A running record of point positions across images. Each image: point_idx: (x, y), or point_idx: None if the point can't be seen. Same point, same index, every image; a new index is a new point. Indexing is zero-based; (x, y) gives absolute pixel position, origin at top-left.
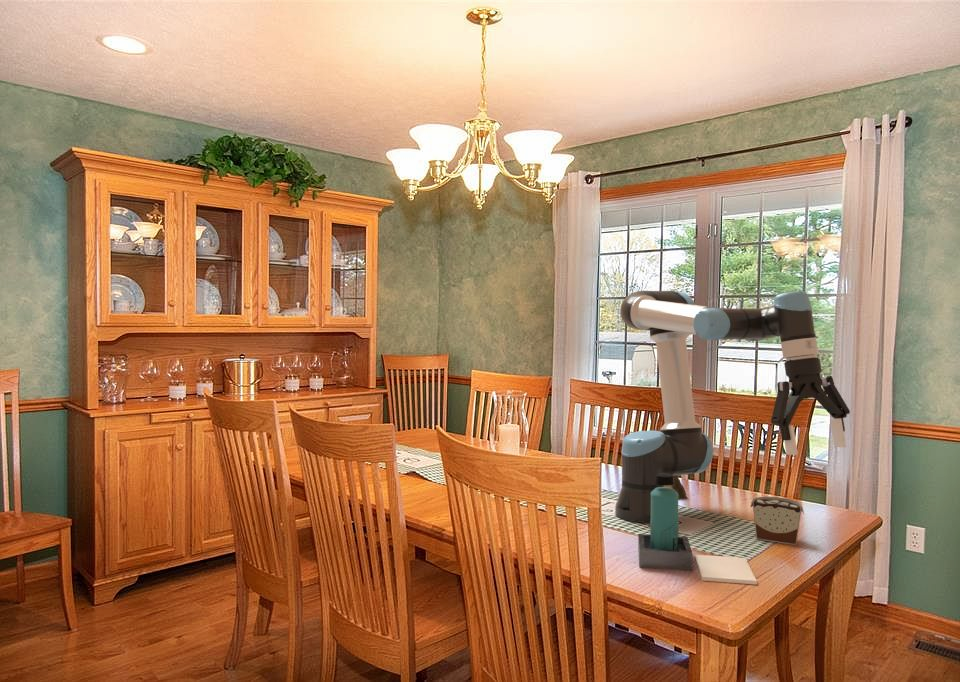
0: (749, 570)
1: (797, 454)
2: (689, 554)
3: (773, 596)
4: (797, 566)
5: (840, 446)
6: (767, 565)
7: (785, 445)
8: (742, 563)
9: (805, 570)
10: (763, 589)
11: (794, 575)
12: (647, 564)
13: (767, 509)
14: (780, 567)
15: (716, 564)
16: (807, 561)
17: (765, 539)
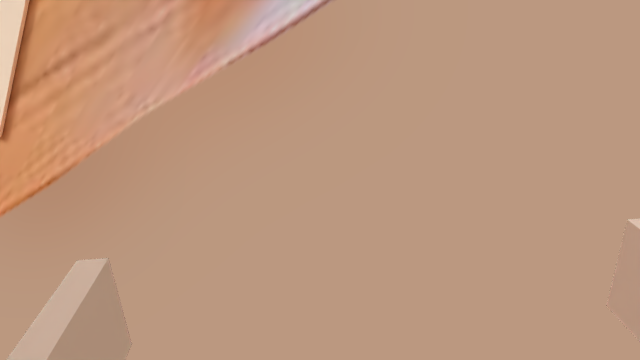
0: (5, 65)
1: (126, 344)
2: None
3: (20, 201)
4: (209, 35)
5: (614, 284)
6: (111, 3)
7: (38, 320)
8: (2, 1)
9: (213, 70)
10: (10, 163)
11: (155, 97)
12: None
13: None
14: (147, 30)
15: None
16: (272, 3)
17: None
